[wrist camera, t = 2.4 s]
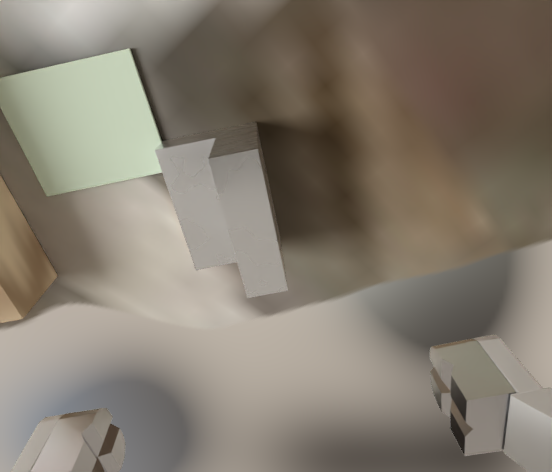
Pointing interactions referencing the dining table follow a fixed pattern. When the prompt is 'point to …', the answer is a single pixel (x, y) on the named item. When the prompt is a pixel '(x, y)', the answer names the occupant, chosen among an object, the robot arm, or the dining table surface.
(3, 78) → the pad
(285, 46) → the dining table surface
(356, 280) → the dining table surface
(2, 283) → the corner walls
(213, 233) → the bracket
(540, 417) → the robot arm
